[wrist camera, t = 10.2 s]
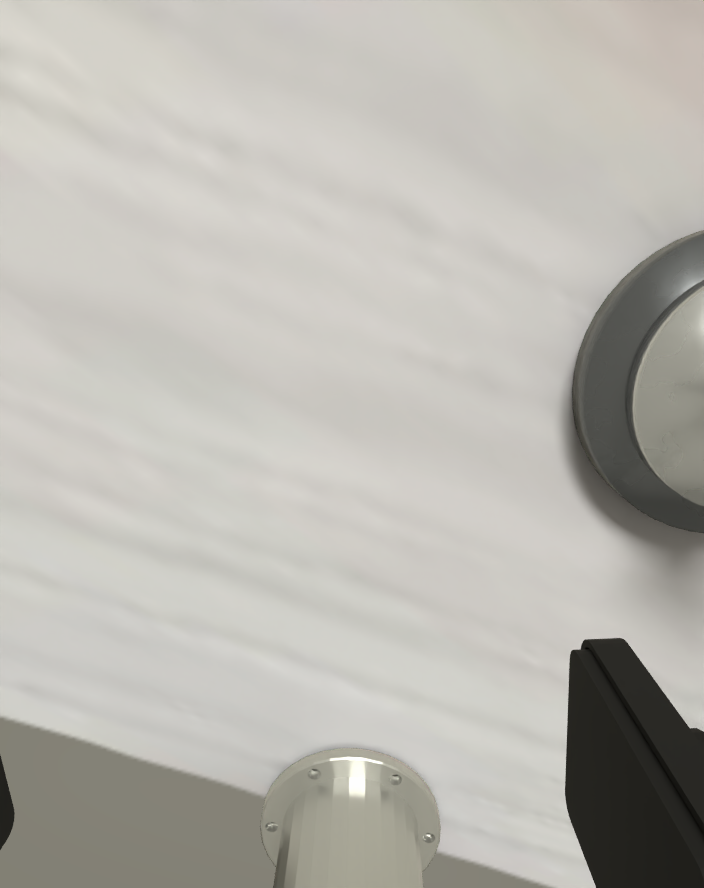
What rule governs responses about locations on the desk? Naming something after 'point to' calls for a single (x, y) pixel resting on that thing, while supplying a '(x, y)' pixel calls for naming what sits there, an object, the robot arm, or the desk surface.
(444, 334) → the desk surface
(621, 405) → the dial base
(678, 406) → the dial
